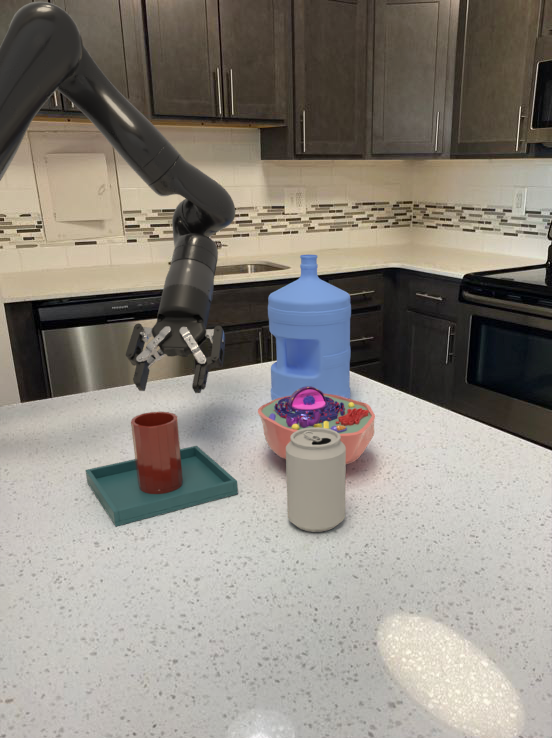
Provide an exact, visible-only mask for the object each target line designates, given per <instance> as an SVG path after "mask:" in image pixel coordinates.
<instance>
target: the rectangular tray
mask: <svg viewBox="0 0 552 738" xmlns="http://www.w3.org/2000/svg"><path fill="white" fill-rule="evenodd" d="M180 451H181V462H182V473H183V484H182V486H181V487H180V488H178V489H177V490H175V491H172V492H169V493H164V494H149V493H145V492H143V491H141V490H140V489H139V484H138V478H137V470H136V462H135V458H134V459H129V460H123V461H119V462H116V463H111V464H106V465H102V466H97V467H93V468H87V469H85V471H84V472H85V477H86V484H87V485H88V486H89V488H90V489H91V491H92V492H93V494H94V495H95V498H96V499H97V500H98V502H99V503H100V505H101V506H102V508H103V509H104V511H105V512H106V514H107V516H108V517H109V518H110V520H111V522H112V523H113V525H114V526H115V527H119V526H123V525H126V524H130V523H134V522H138V521H141V520H145V519H148V518H152V517H156V516H161V515H164V514H167V513H172V512H176V511H179V510H184V509H187V508H190V507H194V506H198V505H202V504H206V503H210V502H212V501H217V500H220V499H225V498H229V497H231V496H235V495H238V494H239V491H238V490H239V489H238V480H237V479H235V478H234V477H233V476H232V475H231V474H230V473H229V472H228V471H227V470H225V469H224V468H223V466H221V465H220V464H218V462H217V461H215V460H214V459H213V458H212V457H211V456H210V455H208V454H207V453H206V452H205V451H204V450H203V449H202V448H200V447H199V446H198V445H193V446H188V447H184V448H180ZM209 501H210V502H209Z"/></svg>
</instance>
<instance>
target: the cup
mask: <svg viewBox="0 0 552 738" xmlns="http://www.w3.org/2000/svg"><path fill="white" fill-rule="evenodd" d="M130 426H131V427H130V428H131V435H132V444H133V452H134V459H135V462H136V470H137V478H138V484H139V489H140V490H141V491H143V492H145V493H149V494H164V493H169V492H172V491H175V490H177V489H178V488H180V487H181V486H182V484H183V473H182V462H181V451H180V449H181V441H180V429H179V419H178V415H176V413H173V412H169V411H149V412H144V413H140V414H138V415H136V416H134V417H133V418H131V421H130Z"/></svg>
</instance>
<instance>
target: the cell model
mask: <svg viewBox="0 0 552 738" xmlns="http://www.w3.org/2000/svg"><path fill="white" fill-rule="evenodd" d="M257 414H258V416H259V418H260V421H261V423H262V429H263V430H262V431H263V436H264V439H265V441H266V443H267V445H268V447H269V449H270V450H271V451H272V452H273V453H275V454H276V455H277V456H278V457H279V458H281V459H284V460H286V446H287V445H288V443H289V442H290V441H291V435H292V434H293V433H294V432H296V431H298V430H301V429H305V428H317V427H319V428H327V429H331V430H334V431H336V432H338V433H339V434H340V437H341V439H340V441H341V442H342V443H343V444H344V445H345V448H346V466H347V465H349V464H352V463H354V462H355V461H357V460H358V459H359V458H360V457H361V456H362V455H363V453H364V452H365V451H366V449H367V447H368V445H369V444H370V442H371V441H372V439H373V437H375V420H376V415H375V412H374V411H373V409H372V407H371V406H370V405H369V404H368V403H366V402H364V401H363V402H362V401H359V400H355V399H352V398H350V399H349V398H345V397H342V396H338V395H333V394H324V393H323V392H322V391H320V390H318V389H316V388H314V387H311V386H305V387H302V388H300V389H298V390H296V391H295V392H294V393H293V394H292V395H291V396H286V397H281V398H277V399H275V400H272V399H271V400H270V401H269V402H266V403H265V404H262V405H261V406H259V407H258V409H257Z"/></svg>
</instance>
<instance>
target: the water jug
mask: <svg viewBox="0 0 552 738" xmlns="http://www.w3.org/2000/svg"><path fill="white" fill-rule="evenodd" d="M299 258H300V264H299V267H300V276H299V277H298V279H296V280H294V281H292V282H290V283H288V284H286V285H285V286H283V287H280V288H279V289H277V290H274V291H273V292H270V294H269V295H268V296H267V297H268V298H267V299H268V303H267V318H268V329H269V332H270V334H271V335H273V336H274V338H275V346H276V348H275V349H276V361H274V362H273V363H272V364H271V366H270V382H271V383H270V384H271V385H270V399H271V401H272V400H275V399H277V398H281V397H286V396H291V395H292V394H293V393H294V392H295V391H296V390H298V389H300V388H302V387H305V386H311V387H314V388H316V389H318V390H320V391H322V392H323V393H324V394H333V395H338V396H342V397H345V398H349V399H351V387H350V378H351V377H350V372H351V371H350V370H351V369H350V368H351V367H350V366H351V365H350V364H351V363H350V362H351V356H352V355H351V352H352V351H351V318H352V317H351V316H352V304H351V295H350V293H348V292H347V291H345V290H343V289H341V288H339V287H337V286H335V285H333V284H331V283H329V282H327V281H325V280H322V279H321V278H320V277H319V276H318V265H319V264H318V262H317V261H318V260H317V259H318V255H317V254H301V255H300V256H299Z"/></svg>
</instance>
